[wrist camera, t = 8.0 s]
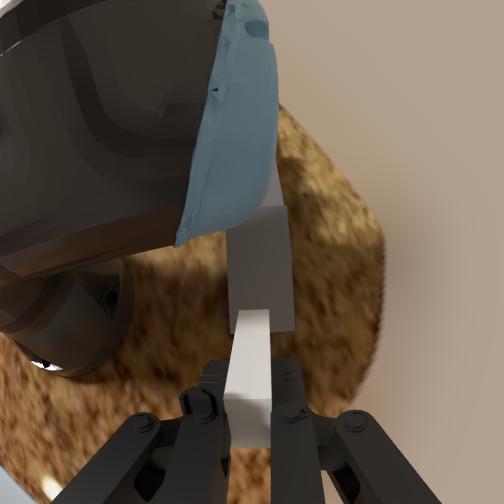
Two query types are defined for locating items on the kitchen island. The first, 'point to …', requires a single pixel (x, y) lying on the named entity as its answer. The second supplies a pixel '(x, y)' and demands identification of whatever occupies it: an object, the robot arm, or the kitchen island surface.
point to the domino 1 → (261, 268)
